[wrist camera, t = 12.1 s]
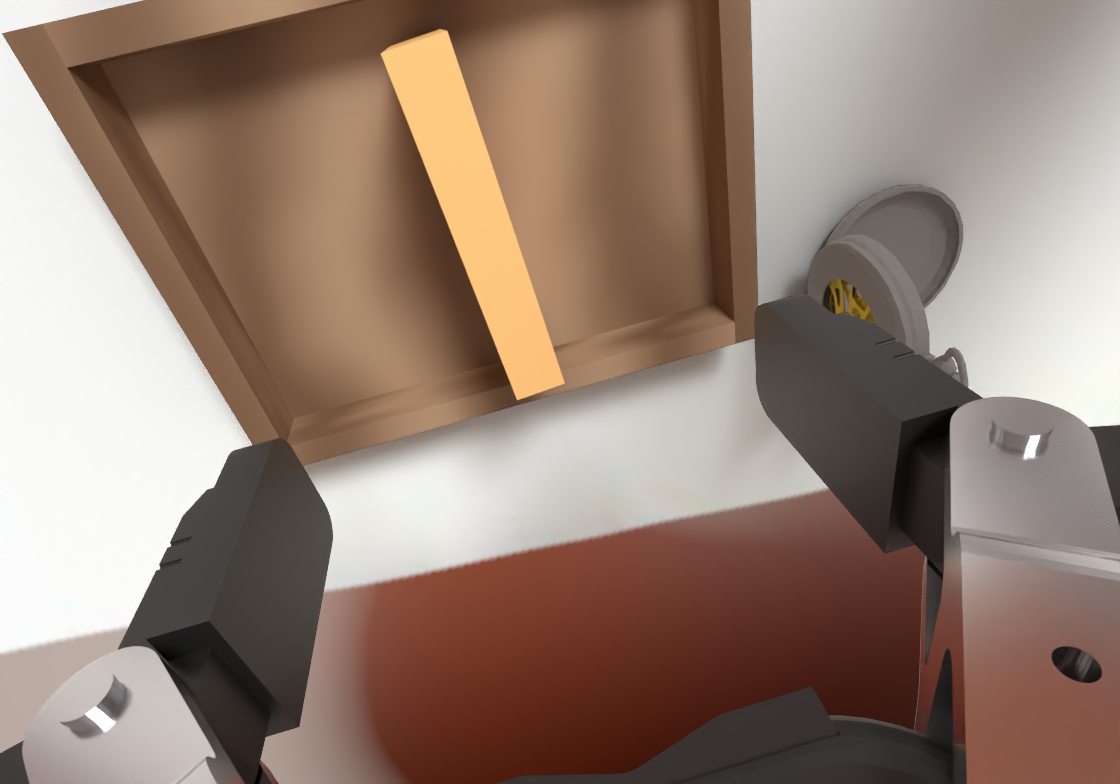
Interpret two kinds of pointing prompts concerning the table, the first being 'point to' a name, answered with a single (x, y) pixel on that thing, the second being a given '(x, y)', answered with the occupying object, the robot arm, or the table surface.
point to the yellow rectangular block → (473, 205)
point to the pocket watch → (893, 265)
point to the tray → (414, 192)
